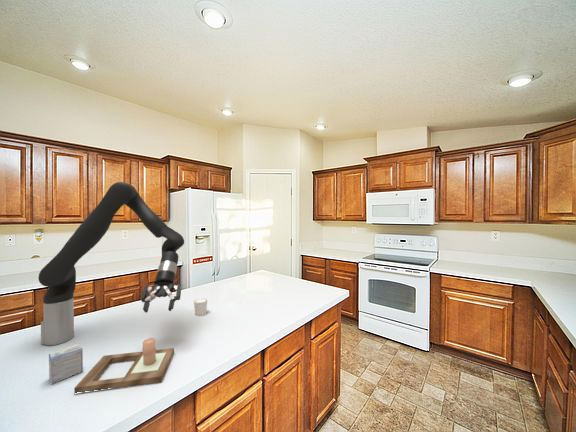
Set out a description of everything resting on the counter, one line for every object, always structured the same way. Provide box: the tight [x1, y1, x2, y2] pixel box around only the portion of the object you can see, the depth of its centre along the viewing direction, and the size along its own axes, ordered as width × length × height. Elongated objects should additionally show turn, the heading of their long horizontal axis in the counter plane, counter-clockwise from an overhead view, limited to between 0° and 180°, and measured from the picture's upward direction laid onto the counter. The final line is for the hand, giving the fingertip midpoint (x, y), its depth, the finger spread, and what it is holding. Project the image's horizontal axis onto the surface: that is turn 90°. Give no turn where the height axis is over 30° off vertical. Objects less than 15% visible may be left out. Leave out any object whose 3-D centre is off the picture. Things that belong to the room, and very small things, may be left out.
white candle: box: [193, 298, 208, 317], centre depth 127 cm, size 7×7×7 cm
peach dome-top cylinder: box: [142, 337, 157, 366], centre depth 83 cm, size 4×4×8 cm
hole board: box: [73, 347, 175, 394], centre depth 81 cm, size 24×16×2 cm, turn 103°
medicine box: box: [48, 343, 84, 385], centre depth 79 cm, size 8×4×9 cm, turn 141°
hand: (157, 311), depth 92 cm, fingers open, 8 cm apart
